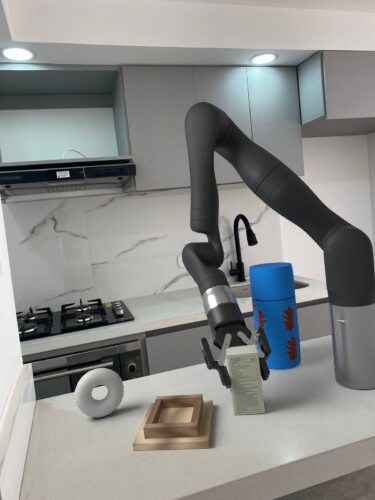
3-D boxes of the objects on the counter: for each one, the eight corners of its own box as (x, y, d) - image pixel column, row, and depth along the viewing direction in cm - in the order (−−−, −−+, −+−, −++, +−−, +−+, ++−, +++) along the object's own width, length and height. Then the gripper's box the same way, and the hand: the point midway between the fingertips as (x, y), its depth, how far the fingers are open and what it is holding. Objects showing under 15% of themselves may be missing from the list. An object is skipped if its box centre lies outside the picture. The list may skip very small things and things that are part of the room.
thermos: (298, 352, 96) (290, 261, 95) (304, 369, 86) (294, 266, 84) (257, 354, 98) (248, 264, 97) (258, 370, 88) (248, 270, 86)
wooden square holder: (213, 405, 73) (211, 390, 73) (208, 448, 60) (206, 429, 59) (151, 408, 75) (149, 393, 75) (133, 450, 61) (131, 432, 61)
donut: (125, 405, 78) (119, 361, 77) (128, 413, 74) (122, 366, 74) (77, 418, 75) (71, 371, 74) (78, 426, 71) (71, 377, 71)
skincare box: (263, 402, 72) (257, 344, 72) (265, 414, 68) (259, 352, 67) (231, 404, 73) (225, 346, 72) (232, 416, 69) (225, 354, 68)
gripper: (192, 306, 75) (215, 382, 64) (256, 296, 78) (287, 367, 67) (189, 325, 81) (209, 398, 70) (249, 314, 84) (277, 383, 73)
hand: (248, 382), depth 69 cm, fingers closed on skincare box, 7 cm apart
